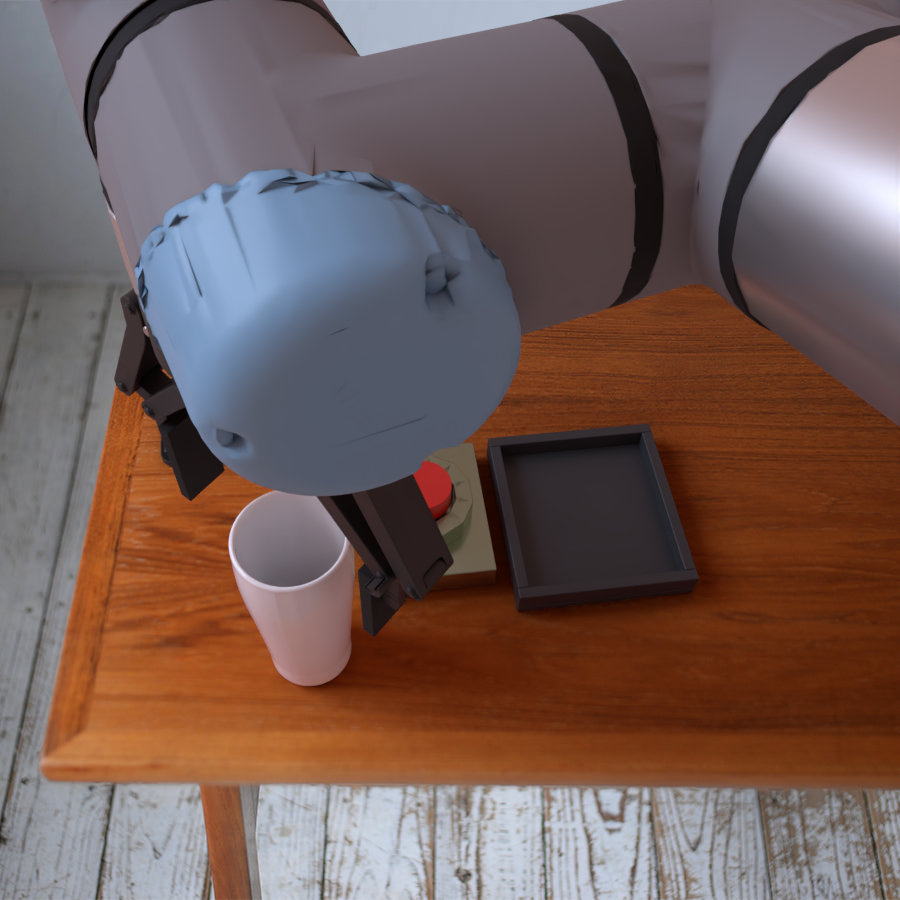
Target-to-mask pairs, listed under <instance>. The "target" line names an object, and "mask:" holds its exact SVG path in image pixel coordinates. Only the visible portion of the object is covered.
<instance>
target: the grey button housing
mask: <svg viewBox="0 0 900 900" xmlns="http://www.w3.org/2000/svg"><path fill="white" fill-rule="evenodd" d="M424 461H428V462H433V463H435V464H438V465H439V466H441V467H442V468H444V469H445V470H446V471H447V473H448V474H449V476H450V478H451V482H452V491H451V503H450V506H449V508H448V510H447V511H446V512H445V513H444V514H443V515H442V516H441V517H439V518H438V519H435V522H436V524H437V526H438V528H439V530H440V532H441V534H442V536H443V538H444V541H445V543H446V545H447V547H448V549H449V551H450V553H451V555H452V557H453V560H454V563H453V565H452V566H451V567H450V568H449V569H448V570H447V571H446V573H445V574H444V575H443V576H442V577H441V578H440V579H439V581H438V582H437V583H436V584H435V585H434V586H433V588H432V589H431V590H430V591H429V592H437V591H447V590H456V589H464V588H473V587H474V588H476V587H482V586H483V587H484V586H492V585H495V584H496V577H497V570H498V569H497V564H496V563H497V562H496V558H495V552H494V548H493V547H494V546H493V541H492V537H491V531H490V526H489V520H488V515H487V510H486V505H485V499H484V494H483V487H482V483H481V478H480V472H479V467H478V461H477V457H476V451H475V446H474V442H472V441H471V442H463V443H461V444H460V445H459V446H457V447H450V448H444V449H439V450H437V451H436V452H434V453H433V454H431V455H429V456H428V457H426V458H425V459H424Z"/></svg>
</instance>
